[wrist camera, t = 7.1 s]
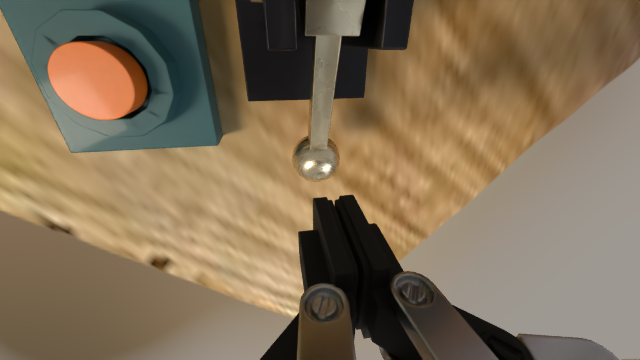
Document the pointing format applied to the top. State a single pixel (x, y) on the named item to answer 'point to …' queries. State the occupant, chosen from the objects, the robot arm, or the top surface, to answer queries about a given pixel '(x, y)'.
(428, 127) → the top surface
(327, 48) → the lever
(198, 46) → the control block
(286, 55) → the bracket
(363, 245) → the robot arm
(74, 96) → the button
